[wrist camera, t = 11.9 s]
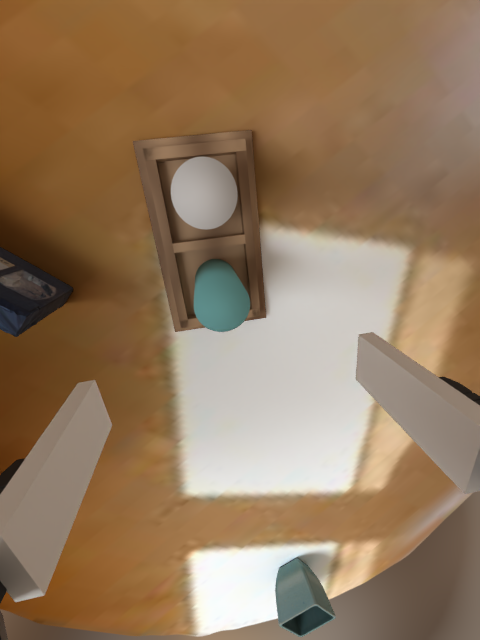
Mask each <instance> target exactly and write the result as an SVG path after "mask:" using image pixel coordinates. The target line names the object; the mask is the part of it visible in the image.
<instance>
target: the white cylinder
mask: <svg viewBox="0 0 480 640" xmlns="http://www.w3.org/2000/svg"><path fill="white" fill-rule="evenodd" d="M237 197H238V194H237V186H236V182H235V180H234V177H233V176H232V174H231V172H230V171H229V170H228V168H227V167H226V166H225V165H223V164H222V163H221V162H219V161H218V160H215V159H213V158H210V157H195V158H192V159H189V160H188V161H186V162H184V163H183V164H182V165H181V166H180V167H179V168H178V170H177V171H176V173H175V175H174V177H173V179H172V184H171V199H172V203H173V205H174V208H175V210H176V212H177V213H178V215H179V216H180V217H181V218H182V219H183V220H184V221H185V222H186V223H187V224H189V225H191V226H193V227H195V228H198V229H205V230H207V229H214V228H217V227H219V226H221V225H223V224H224V223H225V222H226V221H228V219H229V218H230V217H231V216H232V214H233V212H234V210H235V207H236V204H237Z"/></svg>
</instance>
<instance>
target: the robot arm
mask: <svg viewBox="0 0 480 640" xmlns="http://www.w3.org/2000/svg"><path fill="white" fill-rule="evenodd" d="M356 380H357V381H358V382H359V383H360V384H361V385H362V386H363V387H364V389H365V390H366V391H367V392H368V393H369V394H370V395H371V396H372V397H373V398H374V399H375V400H376V401H377V402H378V403H379V404H380V405H381V406H382V407H383V409H384V410H385V411H386V412H387V413H388V414H389V415H390V416H391V417H392V418H393V419H394V420H395V421H396V422H397V423H398V424H399V425H400V426H401V427H402V429H403V430H404V431H405V432H406V433H407V434H408V435H409V436H410V437H411V438H412V439H413V440H414V441H415V442H416V443H417V444H418V445H419V446H420V447H421V449H422V450H423V451H424V452H425V453H426V454H427V455H428V456H429V457H430V458H431V459H432V460H433V461H434V462H435V463H436V464H437V465H438V466H439V468H440V469H441V470H442V471H443V472H444V473H445V474H446V475H447V476H448V477H449V478H450V479H451V480H452V481H453V482H454V483H455V484H456V485H457V486H458V488H459V489H460V490H461V491H462V492H463V493H464V494H468V493H472V492H476V491H480V396H478V395H477V394H475V393H472V391H471V390H469V389H468V388H466V387H464V386H463V385H461V384H460V383H458V382H455V381H453V380H451V379H448V378H446V377H437V376H436V375H434V374H433V373H431V372H430V371H428V370H427V369H426V368H424V367H423V366H421V365H420V364H418V363H417V362H415V361H414V360H412V359H411V358H409V357H408V356H407V355H405V354H404V353H402V352H401V351H399V350H398V349H396V348H395V347H393V346H392V345H391V344H389V343H388V342H386V341H385V340H383V339H382V338H380V337H379V336H377V335H376V334H374V333H373V332H371V333H365V334H360V335H359V337H358V353H357V368H356ZM111 427H112V423H111V421H110V418H109V415H108V413H107V410H106V408H105V405H104V402H103V400H102V397H101V394H100V392H99V389H98V386H97V384H96V381H95V380H92V381H86V382H80V383H78V384H77V385H76V387H75V388H74V389H73V391H72V392H71V394H70V395H69V397H68V398H67V399H66V401H65V402H64V404H63V405H62V407H61V408H60V410H59V411H58V412H57V414H56V415H55V417H54V418H53V420H52V421H51V422H50V424H49V425H48V427H47V428H46V430H45V431H44V433H43V434H42V435H41V437H40V438H39V440H38V441H37V443H36V444H35V445H34V447H33V448H32V450H31V451H30V453H29V454H28V456H27V457H26V458H25V459H19V460H16V461H15V462H14V463H13V464H12V465H11V466H10V467H8V468H7V469H6V470H5V471H4V472H3V473H2V474H1V475H0V603H1V601H2V599H3V597H4V595H5V593H6V591H7V592H8V593H9V595H10V596H11V597H12V598H13V600H14V601H15V602H18V601H23V600H27V599H31V598H35V597H39V596H43V595H45V593H46V590H47V588H48V585H49V583H50V580H51V578H52V575H53V572H54V570H55V567H56V565H57V562H58V560H59V557H60V555H61V552H62V550H63V547H64V545H65V542H66V540H67V537H68V535H69V532H70V530H71V527H72V525H73V522H74V520H75V517H76V515H77V512H78V510H79V507H80V505H81V502H82V500H83V497H84V495H85V492H86V490H87V487H88V485H89V482H90V479H91V477H92V474H93V472H94V469H95V467H96V464H97V462H98V459H99V457H100V454H101V452H102V449H103V447H104V444H105V442H106V439H107V437H108V434H109V432H110V429H111ZM0 640H8V638H7V634H6V629H5V624H4V619H3V615H2V613H1V612H0Z"/></svg>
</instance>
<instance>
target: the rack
mask: <svg viewBox="0 0 480 640" xmlns="http://www.w3.org/2000/svg"><path fill="white" fill-rule="evenodd" d="M133 145H134V149H135V154H136V158H137V162H138V167H139V171H140V176H141V180H142V185H143V189H144V194H145V198H146V203H147V207H148V212H149V216H150V221H151V225H152V230H153V234H154V239H155V243H156V247H157V252H158V256H159V261H160V265H161V270H162V274H163V279H164V283H165V288H166V292H167V297H168V301H169V306H170V310H171V315H172V319H173V324H174V328H175V332H178V331H184V330H191V329H197V328H203V327H205V326H203V325H202V324H201V323H200V322H199V320H198V319H197V317H196V315H195V312H194V289H195V275H196V272H197V270H198V268H199V267H200V265H201V264H203V263H204V262H206V261H208V260H211V259H220V260H223V261H225V262H227V263H229V264H230V265H231V266H232V268H233V269H234V271H235V273H236V274H237V276H238V278H239V279H240V281H241V283H242V284H243V286H244V288H245V289H246V291H247V293H248V295H249V298H250V310H249V313H248V316H247V318H246V319H245V321H248V320H254V319H261V318H266V309H265V296H264V283H263V271H262V258H261V245H260V232H259V219H258V207H257V194H256V181H255V168H254V156H253V143H252V130H246V131H236V132H225V133H214V134H204V135H193V136H182V137H172V138H161V139H150V140H140V141H133ZM195 157H210V158H213V159H215V160H218V161H219V162H221V163H222V164H223V165H225V166H226V167H227V168H228V170H229V171H230V172H231V174H232V176H233V177H234V180H235V182H236V186H237V194H238V197H237V204H236V207H235V210H234V212H233V214H232V216H231V217H230V218H229V219H228V221H226V222H225V223H224V224H223V225H221V226H219V227H217V228H214V229H207V230H205V229H198V228H195V227H193V226H191V225H189V224H187V223H186V222H185V221H184V220H183V219H182V218H181V217H180V216H179V215H178V213H177V212H176V210H175V208H174V205H173V203H172V199H171V184H172V179H173V177H174V175H175V173H176V171H177V170H178V168H179V167H180V166H181V165H182V164H183V163H184V162H186V161H188V160H189V159H192V158H195Z"/></svg>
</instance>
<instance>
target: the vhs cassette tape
mask: <svg viewBox="0 0 480 640" xmlns="http://www.w3.org/2000/svg"><path fill="white" fill-rule="evenodd" d="M72 291H73V288H72V287H71V286H69V285H67V284H66V283H64V282H62V281H60V280H59V279H57V278H55V277H53V276H52V275H50V274H48V273H46V272H44V271H43V270H41V269H39V268H37V267H35V266H34V265H32V264H30V263H28V262H27V261H25V260H23V259H21V258H19V257H17V256H16V255H14V254H12V253H10V252H8V251H7V250H5V249H3V248H1V247H0V329H1V330H2V331H4V332H6V333H10V334H12V335H13V336H15V337H17V336H19V334H21V333H23V332H24V331H26V330H27V329H29V328H30V327H32V326H33V325H36V324H37V322H39V321H40V320H42V319H43V318H45V317H46V316H48V315H49V314H51V313H52V312H54V311H56V310H57V309H58V308H60V307H62V306H63V305H64V304H65V303H66V301H67V299H68V298H69V295H70V294H71V293H72Z"/></svg>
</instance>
